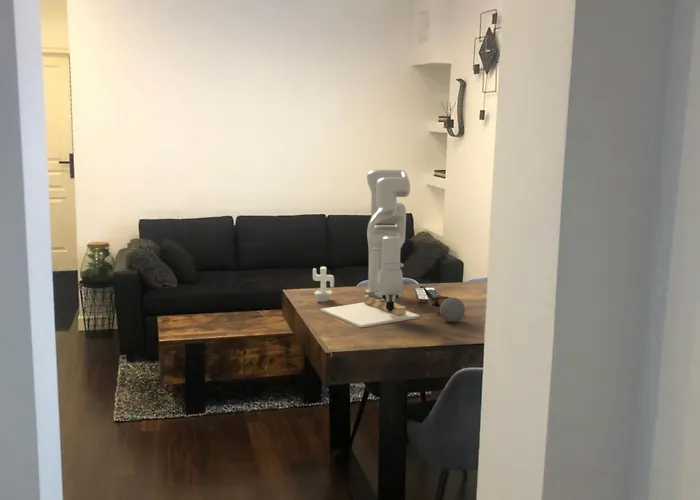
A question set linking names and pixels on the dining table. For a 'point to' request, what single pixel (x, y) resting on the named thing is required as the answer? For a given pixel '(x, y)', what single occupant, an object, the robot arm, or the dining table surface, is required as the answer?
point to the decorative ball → (452, 309)
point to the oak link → (383, 304)
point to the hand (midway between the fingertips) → (389, 310)
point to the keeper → (380, 297)
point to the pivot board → (365, 315)
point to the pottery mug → (438, 302)
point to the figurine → (323, 284)
